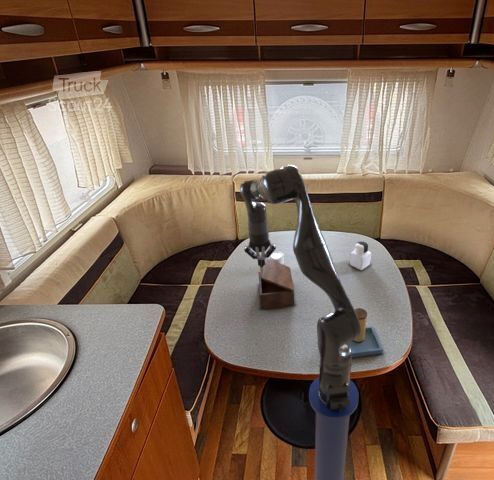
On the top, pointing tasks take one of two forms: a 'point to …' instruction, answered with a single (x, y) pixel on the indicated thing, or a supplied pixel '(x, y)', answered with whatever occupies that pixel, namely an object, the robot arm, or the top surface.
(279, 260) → the white cylinder
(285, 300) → the chest
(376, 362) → the top surface
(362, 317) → the cookie roll
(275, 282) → the chest lid
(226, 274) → the top surface
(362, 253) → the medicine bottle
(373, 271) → the top surface
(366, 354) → the tray
